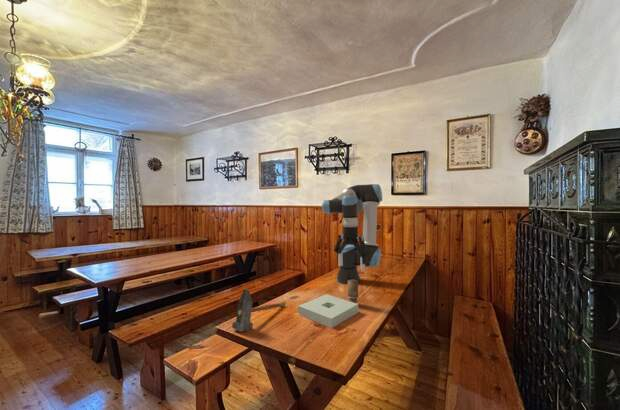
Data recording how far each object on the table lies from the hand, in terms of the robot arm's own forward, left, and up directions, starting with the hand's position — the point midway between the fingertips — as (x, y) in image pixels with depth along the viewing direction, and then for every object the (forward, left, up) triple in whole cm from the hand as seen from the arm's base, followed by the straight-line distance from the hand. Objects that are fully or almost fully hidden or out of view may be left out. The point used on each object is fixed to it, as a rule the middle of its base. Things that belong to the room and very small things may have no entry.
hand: (351, 268), depth 130 cm
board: (+16, -3, -19) cm, 24 cm away
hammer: (+39, -23, -19) cm, 49 cm away
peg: (0, 0, -19) cm, 19 cm away
